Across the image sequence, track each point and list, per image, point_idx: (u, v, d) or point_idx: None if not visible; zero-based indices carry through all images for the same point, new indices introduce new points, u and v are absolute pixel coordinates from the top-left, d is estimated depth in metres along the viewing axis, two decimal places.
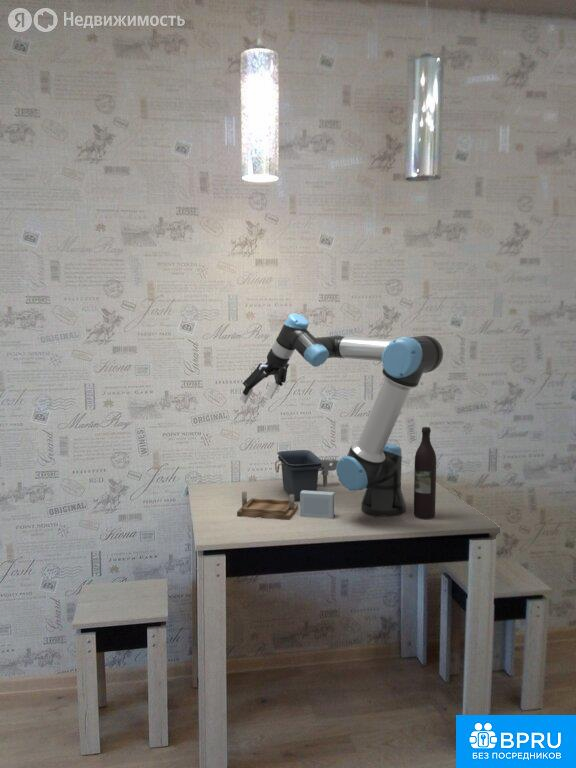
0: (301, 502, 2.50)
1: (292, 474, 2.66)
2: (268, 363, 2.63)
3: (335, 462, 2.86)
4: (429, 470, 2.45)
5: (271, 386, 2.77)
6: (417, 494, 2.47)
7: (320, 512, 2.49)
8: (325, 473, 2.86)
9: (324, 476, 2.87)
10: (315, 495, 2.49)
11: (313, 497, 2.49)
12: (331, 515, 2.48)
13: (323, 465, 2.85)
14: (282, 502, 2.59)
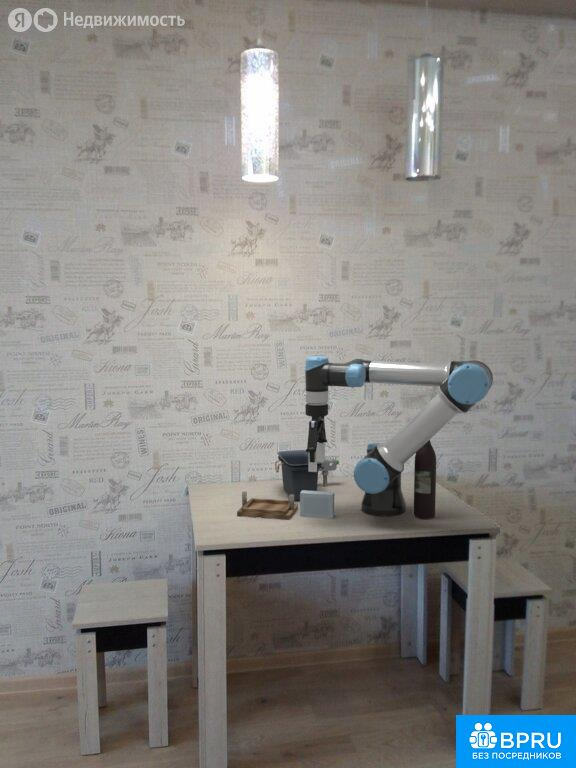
0: (301, 502, 2.50)
1: (292, 474, 2.66)
2: (314, 418, 2.43)
3: (335, 462, 2.86)
4: (429, 470, 2.45)
5: (318, 449, 2.55)
6: (417, 494, 2.47)
7: (320, 512, 2.49)
8: (325, 473, 2.86)
9: (324, 476, 2.87)
10: (315, 495, 2.49)
11: (313, 497, 2.49)
12: (331, 515, 2.48)
13: (323, 465, 2.85)
14: (282, 502, 2.59)
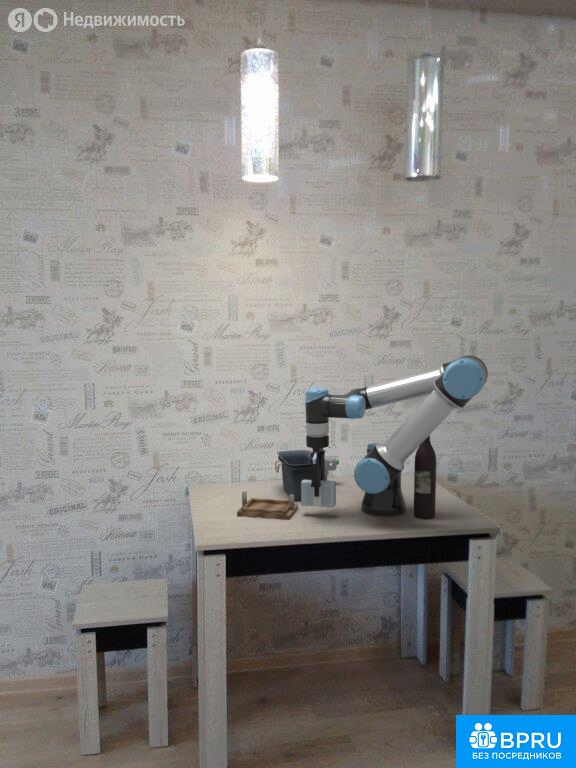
0: (302, 491, 2.50)
1: (292, 474, 2.66)
2: (315, 449, 2.45)
3: (335, 462, 2.86)
4: (429, 470, 2.45)
5: None
6: (417, 494, 2.47)
7: None
8: (325, 473, 2.86)
9: None
10: None
11: None
12: (332, 504, 2.48)
13: None
14: (282, 502, 2.59)
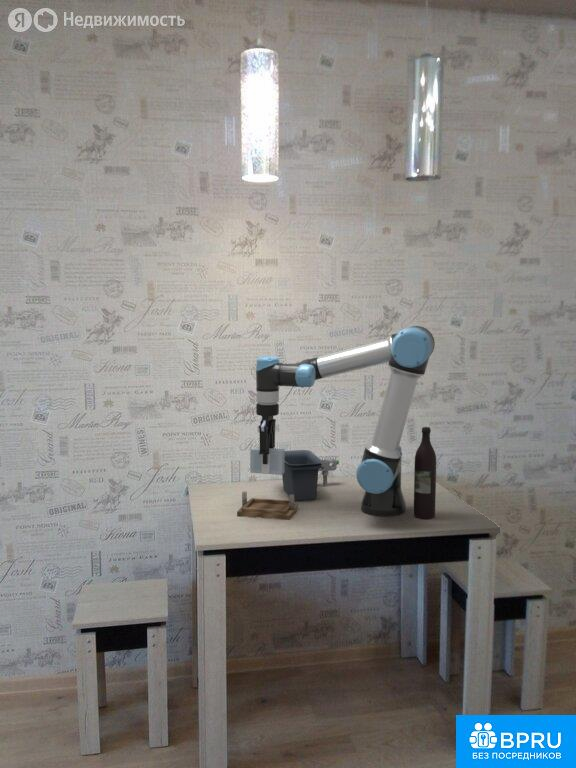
0: (251, 458, 2.52)
1: (292, 474, 2.66)
2: (264, 417, 2.47)
3: (335, 462, 2.86)
4: (429, 470, 2.45)
5: None
6: (417, 494, 2.47)
7: (270, 468, 2.51)
8: (325, 473, 2.86)
9: (324, 476, 2.87)
10: None
11: None
12: (280, 471, 2.50)
13: (323, 465, 2.85)
14: (282, 502, 2.59)
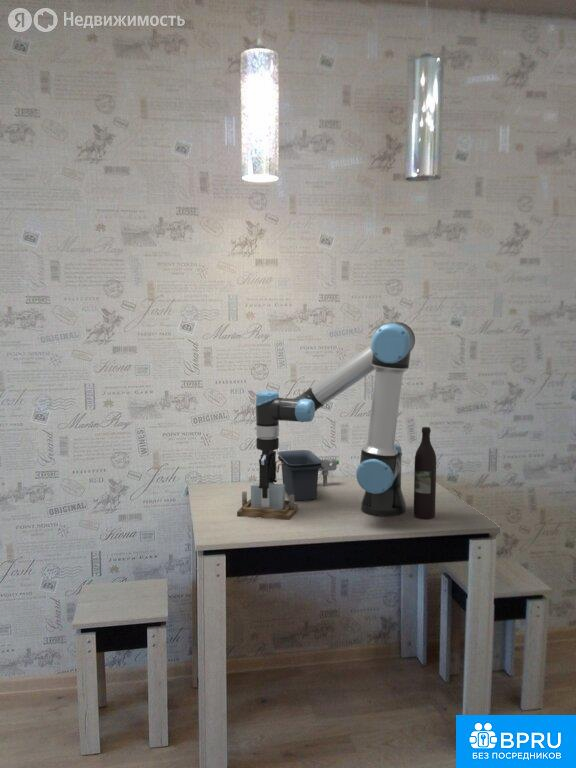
0: (252, 494, 2.54)
1: (292, 474, 2.66)
2: (265, 451, 2.49)
3: (335, 462, 2.86)
4: (429, 470, 2.45)
5: None
6: (417, 494, 2.47)
7: (270, 504, 2.53)
8: (325, 473, 2.86)
9: (324, 476, 2.87)
10: None
11: None
12: (281, 507, 2.52)
13: (323, 465, 2.85)
14: None
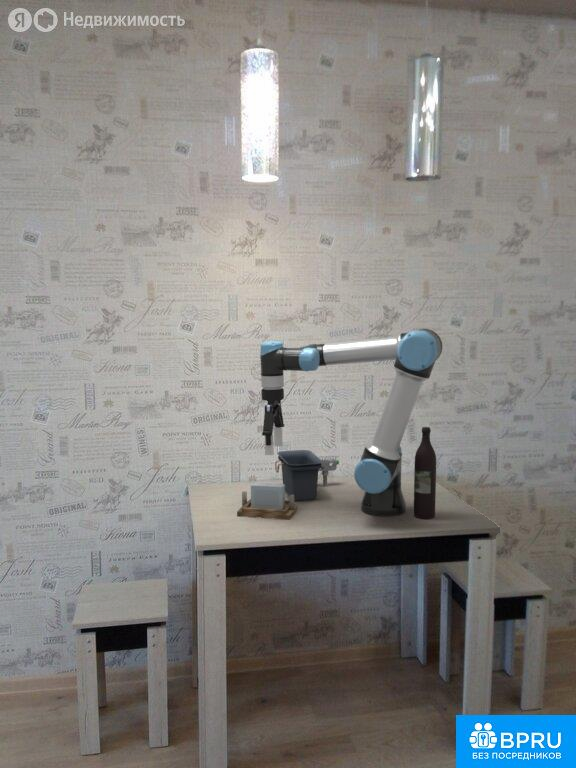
0: (252, 494, 2.54)
1: (292, 474, 2.66)
2: (270, 402, 2.47)
3: (335, 462, 2.86)
4: (429, 470, 2.45)
5: (275, 434, 2.59)
6: (417, 494, 2.47)
7: (270, 504, 2.53)
8: (325, 473, 2.86)
9: (324, 476, 2.87)
10: (266, 487, 2.52)
11: (263, 489, 2.53)
12: (281, 507, 2.52)
13: (323, 465, 2.85)
14: None
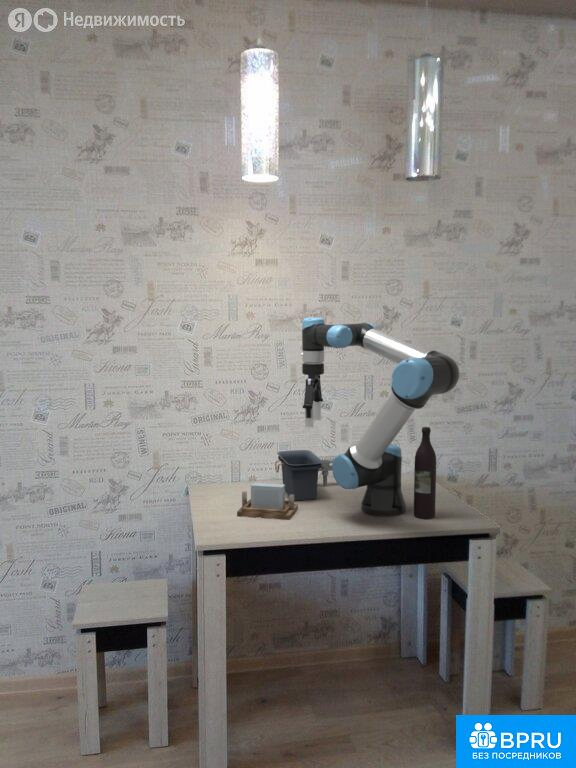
0: (252, 494, 2.54)
1: (292, 474, 2.66)
2: (311, 376, 2.55)
3: None
4: (429, 470, 2.45)
5: (314, 408, 2.67)
6: (417, 494, 2.47)
7: (270, 504, 2.53)
8: (325, 473, 2.86)
9: (324, 476, 2.87)
10: (266, 487, 2.52)
11: (263, 489, 2.53)
12: (281, 507, 2.52)
13: (323, 465, 2.85)
14: None
